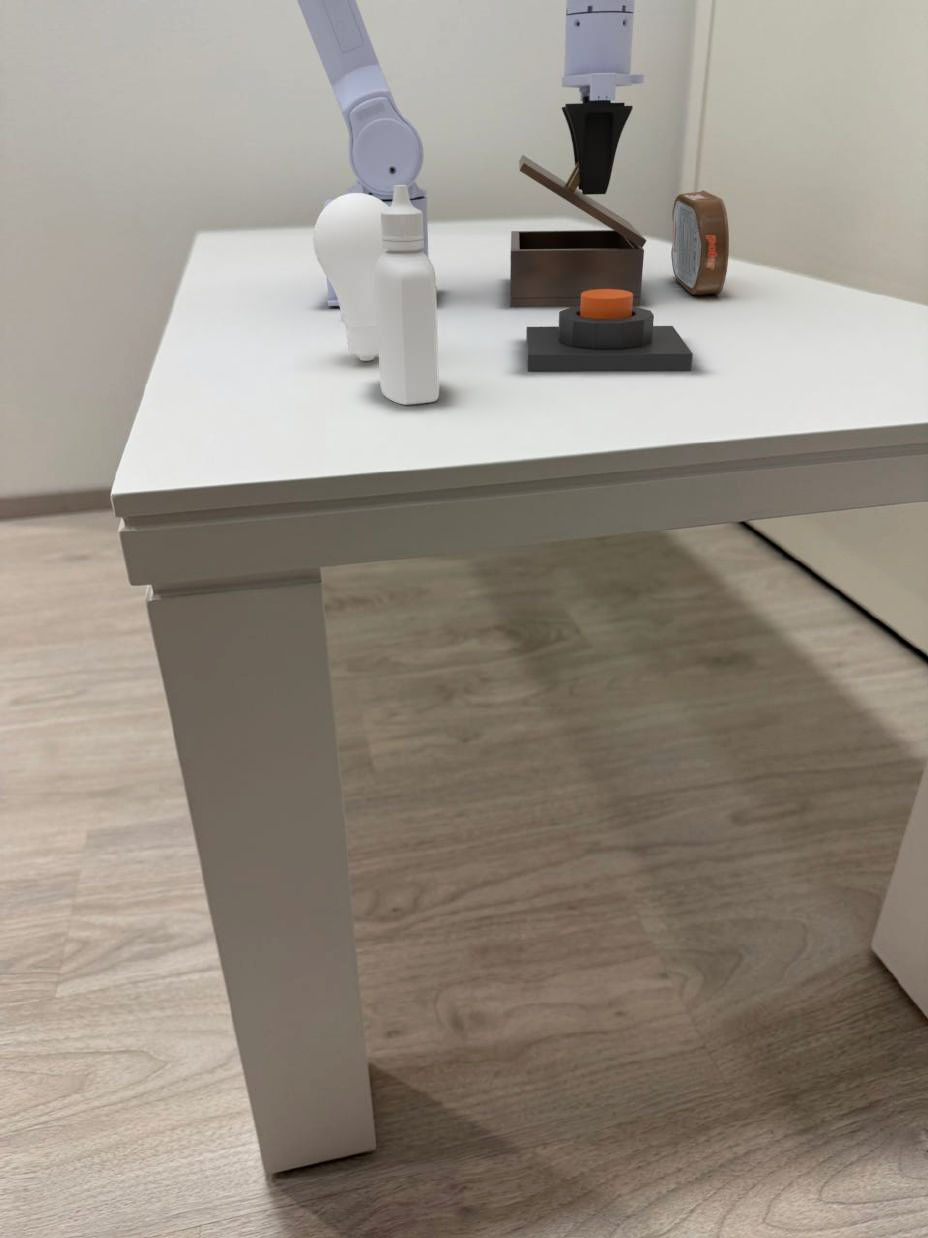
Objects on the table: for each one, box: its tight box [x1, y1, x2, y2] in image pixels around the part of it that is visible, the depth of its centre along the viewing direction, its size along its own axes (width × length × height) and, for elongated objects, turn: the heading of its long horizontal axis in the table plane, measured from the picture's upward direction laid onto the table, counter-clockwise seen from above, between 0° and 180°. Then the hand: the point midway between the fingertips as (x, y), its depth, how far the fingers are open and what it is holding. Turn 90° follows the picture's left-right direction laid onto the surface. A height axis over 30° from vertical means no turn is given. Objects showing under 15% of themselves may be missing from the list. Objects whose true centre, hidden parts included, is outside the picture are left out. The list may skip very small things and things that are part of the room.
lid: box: [518, 154, 648, 248], centre depth 84 cm, size 12×15×5 cm
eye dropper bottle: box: [374, 185, 440, 406], centre depth 56 cm, size 4×6×12 cm
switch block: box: [525, 306, 694, 373], centre depth 66 cm, size 11×9×3 cm
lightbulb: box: [312, 193, 389, 362], centre depth 64 cm, size 6×6×11 cm
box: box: [509, 229, 645, 308], centre depth 88 cm, size 12×15×5 cm
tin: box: [670, 189, 730, 296], centre depth 88 cm, size 15×3×8 cm, turn 179°
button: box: [580, 289, 633, 319], centre depth 65 cm, size 4×4×2 cm
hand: (591, 191), depth 85 cm, fingers closed on lid, 5 cm apart
